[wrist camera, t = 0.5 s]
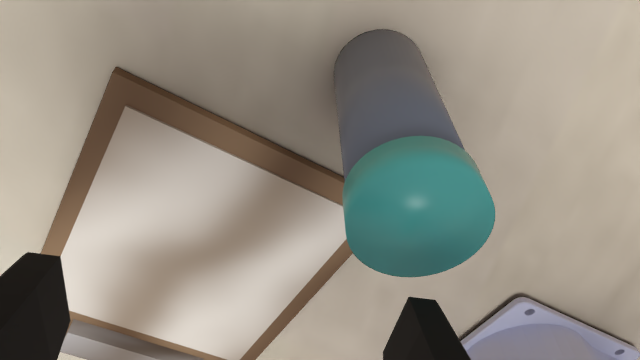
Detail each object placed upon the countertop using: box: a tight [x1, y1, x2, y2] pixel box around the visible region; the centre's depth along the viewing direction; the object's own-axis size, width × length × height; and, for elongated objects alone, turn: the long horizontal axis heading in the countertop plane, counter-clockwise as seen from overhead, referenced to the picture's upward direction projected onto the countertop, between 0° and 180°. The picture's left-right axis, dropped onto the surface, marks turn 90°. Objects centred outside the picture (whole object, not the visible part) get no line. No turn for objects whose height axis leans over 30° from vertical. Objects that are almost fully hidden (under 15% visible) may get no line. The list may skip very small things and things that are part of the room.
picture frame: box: [41, 67, 353, 360], centre depth 23 cm, size 12×16×1 cm
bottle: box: [334, 30, 495, 277], centre depth 15 cm, size 3×3×8 cm
